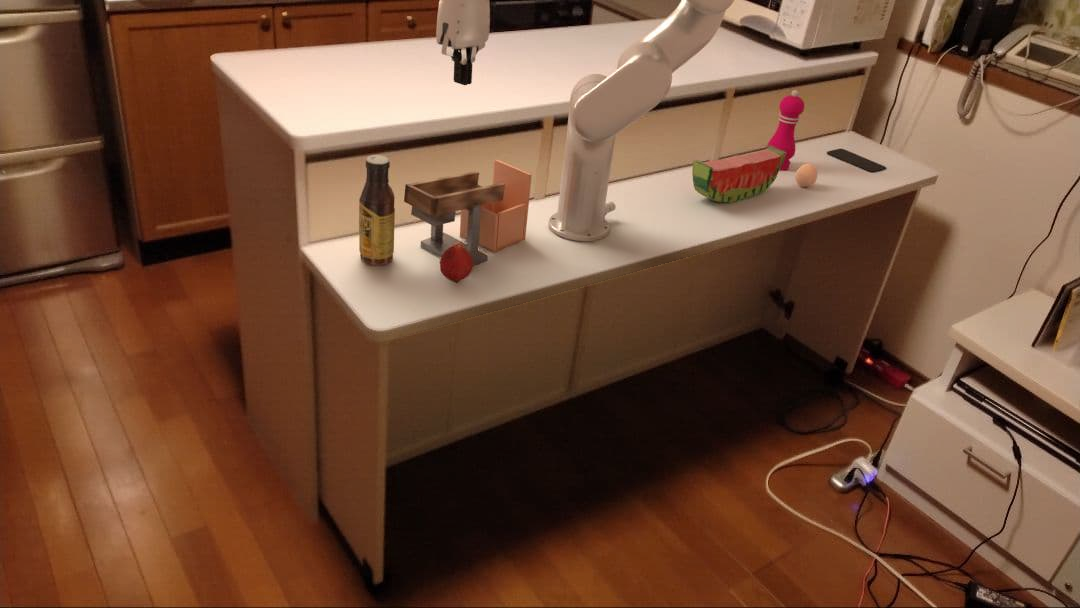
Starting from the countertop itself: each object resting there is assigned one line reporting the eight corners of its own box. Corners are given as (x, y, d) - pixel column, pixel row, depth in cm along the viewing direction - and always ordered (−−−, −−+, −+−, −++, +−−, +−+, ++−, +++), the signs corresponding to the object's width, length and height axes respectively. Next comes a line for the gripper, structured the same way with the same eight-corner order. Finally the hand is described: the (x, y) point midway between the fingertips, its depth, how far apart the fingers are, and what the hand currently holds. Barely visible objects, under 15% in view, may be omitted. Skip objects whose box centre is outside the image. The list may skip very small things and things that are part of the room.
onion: (449, 293, 146) (451, 252, 142) (433, 278, 149) (434, 238, 145) (477, 285, 149) (480, 246, 145) (461, 271, 153) (463, 232, 149)
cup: (492, 223, 171) (496, 159, 164) (525, 239, 166) (531, 174, 159) (459, 236, 165) (463, 169, 158) (493, 253, 160) (498, 185, 153)
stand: (443, 237, 163) (445, 182, 157) (487, 260, 157) (491, 203, 151) (420, 246, 159) (422, 189, 153) (464, 270, 153) (467, 212, 147)
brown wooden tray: (458, 191, 164) (461, 164, 161) (501, 212, 158) (505, 184, 155) (388, 206, 151) (390, 177, 149) (432, 229, 145) (435, 199, 142)
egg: (809, 182, 208) (815, 160, 205) (817, 191, 204) (823, 168, 201) (789, 181, 208) (795, 159, 205) (797, 190, 203) (803, 167, 200)
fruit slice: (759, 183, 205) (768, 144, 200) (778, 192, 201) (789, 153, 196) (683, 201, 191) (691, 159, 186) (702, 211, 187) (711, 170, 181)
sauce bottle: (355, 253, 155) (353, 152, 145) (389, 249, 157) (389, 149, 147) (364, 270, 150) (362, 166, 140) (398, 266, 152) (399, 163, 142)
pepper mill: (795, 171, 214) (816, 94, 204) (770, 171, 212) (790, 94, 202) (781, 160, 220) (801, 85, 210) (757, 160, 218) (776, 85, 208)
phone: (872, 171, 218) (825, 151, 228) (871, 174, 219) (824, 154, 229) (888, 167, 222) (841, 147, 232) (887, 170, 223) (840, 150, 233)
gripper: (478, -26, 156) (474, 71, 166) (421, -19, 146) (420, 85, 155) (509, -19, 152) (503, 81, 162) (452, -11, 142) (449, 95, 151)
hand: (462, 82), depth 158 cm, fingers closed
